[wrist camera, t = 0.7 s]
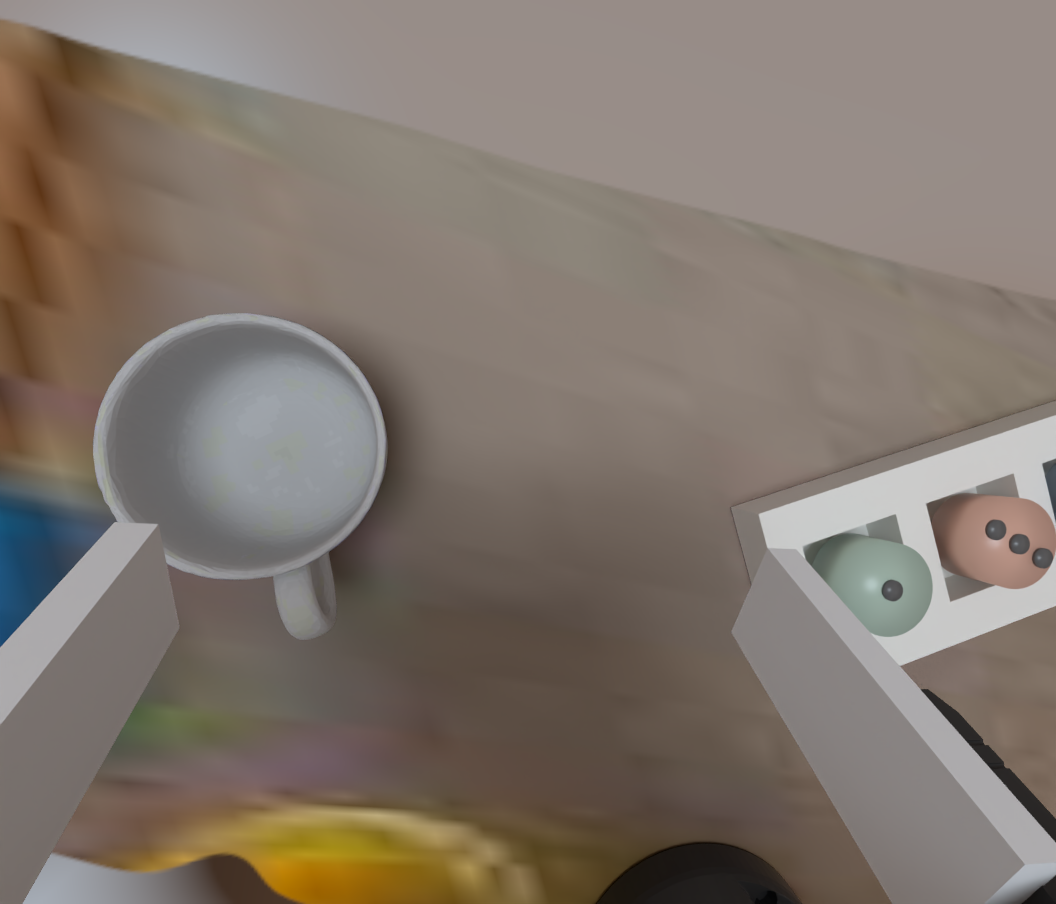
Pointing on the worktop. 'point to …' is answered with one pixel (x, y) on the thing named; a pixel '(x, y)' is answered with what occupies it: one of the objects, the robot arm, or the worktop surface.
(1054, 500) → the two pip button
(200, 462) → the teacup
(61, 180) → the worktop surface
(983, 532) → the three pip button
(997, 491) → the button panel
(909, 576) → the one pip button
